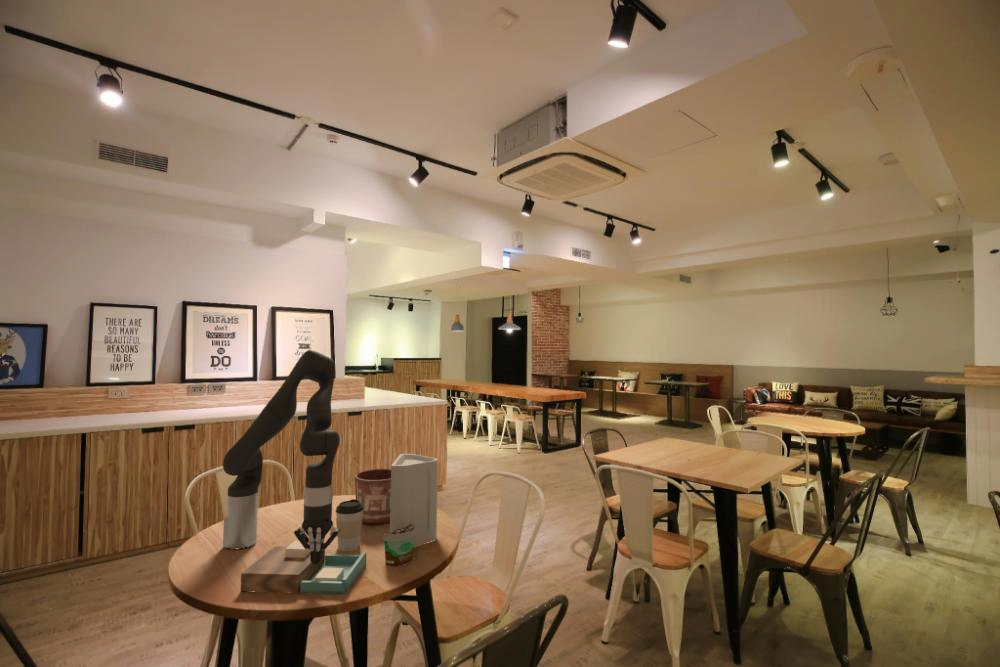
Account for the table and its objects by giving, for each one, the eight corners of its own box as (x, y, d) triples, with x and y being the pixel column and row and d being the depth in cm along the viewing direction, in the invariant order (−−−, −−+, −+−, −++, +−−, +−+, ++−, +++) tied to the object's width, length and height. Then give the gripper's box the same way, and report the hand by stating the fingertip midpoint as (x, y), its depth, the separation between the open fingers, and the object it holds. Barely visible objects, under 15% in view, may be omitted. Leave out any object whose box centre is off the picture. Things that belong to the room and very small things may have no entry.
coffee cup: (354, 553, 154) (355, 507, 154) (329, 551, 156) (330, 505, 156) (367, 543, 163) (368, 499, 163) (343, 540, 164) (344, 497, 165)
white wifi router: (433, 550, 157) (435, 466, 159) (388, 550, 157) (390, 465, 158) (438, 529, 176) (440, 453, 178) (398, 529, 176) (400, 453, 177)
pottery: (347, 517, 187) (348, 472, 188) (388, 509, 198) (389, 466, 198) (362, 532, 173) (364, 482, 174) (406, 522, 183) (408, 476, 184)
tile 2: (336, 578, 130) (335, 587, 130) (343, 568, 136) (343, 577, 136) (314, 577, 130) (314, 586, 130) (323, 567, 136) (323, 576, 136)
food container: (396, 571, 142) (397, 538, 142) (382, 566, 145) (382, 533, 145) (423, 557, 152) (424, 525, 153) (409, 552, 155) (410, 521, 156)
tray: (300, 593, 128) (300, 578, 128) (326, 564, 146) (326, 550, 146) (345, 594, 128) (345, 579, 128) (366, 565, 146) (366, 551, 146)
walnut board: (240, 591, 129) (241, 573, 129) (273, 562, 147) (274, 546, 147) (298, 593, 128) (298, 574, 128) (324, 564, 146) (325, 547, 146)
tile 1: (284, 557, 139) (285, 548, 139) (294, 548, 145) (294, 540, 145) (304, 557, 139) (305, 549, 139) (313, 549, 145) (313, 541, 145)
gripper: (289, 504, 130) (286, 568, 129) (336, 505, 130) (334, 569, 129) (301, 496, 138) (299, 556, 137) (345, 497, 137) (344, 558, 136)
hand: (316, 563), depth 133 cm, fingers closed
